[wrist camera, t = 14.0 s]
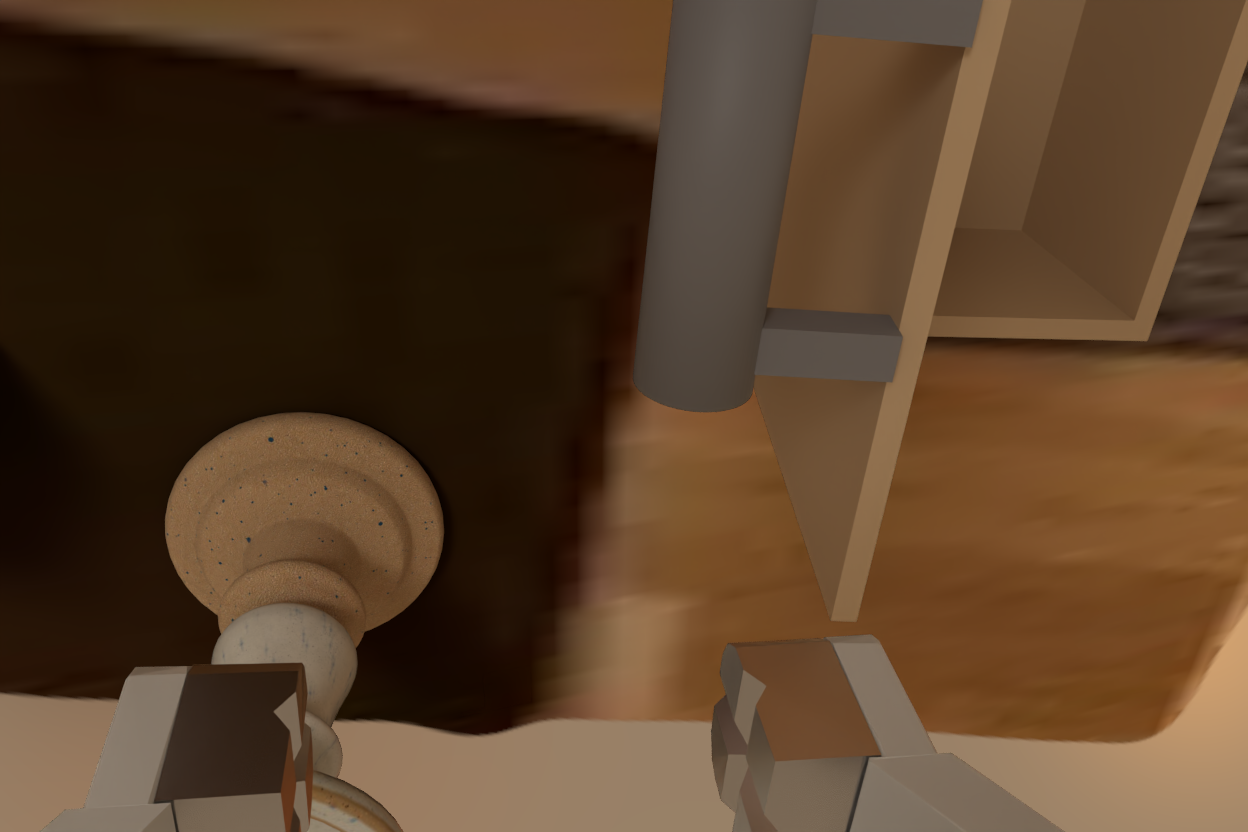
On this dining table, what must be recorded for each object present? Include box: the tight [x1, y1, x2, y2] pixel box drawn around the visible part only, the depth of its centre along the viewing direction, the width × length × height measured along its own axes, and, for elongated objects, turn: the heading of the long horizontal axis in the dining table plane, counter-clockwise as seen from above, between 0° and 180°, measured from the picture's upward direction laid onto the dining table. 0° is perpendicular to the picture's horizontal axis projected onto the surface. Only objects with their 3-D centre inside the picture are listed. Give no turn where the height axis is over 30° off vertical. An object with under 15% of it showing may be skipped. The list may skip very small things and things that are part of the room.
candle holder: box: [165, 412, 444, 832], centre depth 43 cm, size 12×12×20 cm
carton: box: [928, 0, 1248, 341], centre depth 39 cm, size 20×15×10 cm
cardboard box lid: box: [633, 0, 1011, 622], centre depth 26 cm, size 20×16×6 cm
